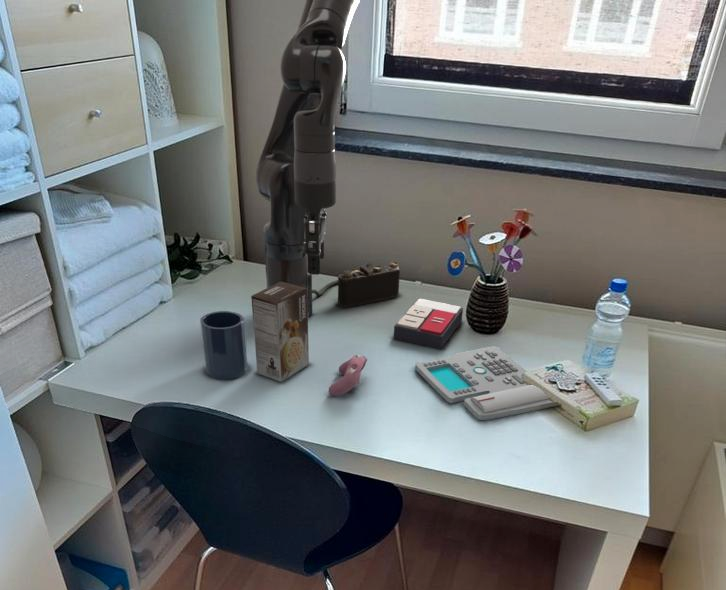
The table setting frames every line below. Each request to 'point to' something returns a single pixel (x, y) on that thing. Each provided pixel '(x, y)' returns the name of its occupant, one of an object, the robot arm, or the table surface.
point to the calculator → (428, 323)
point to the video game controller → (348, 375)
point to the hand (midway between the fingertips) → (316, 265)
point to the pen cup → (224, 344)
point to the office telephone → (484, 383)
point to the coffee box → (281, 330)
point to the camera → (368, 285)
